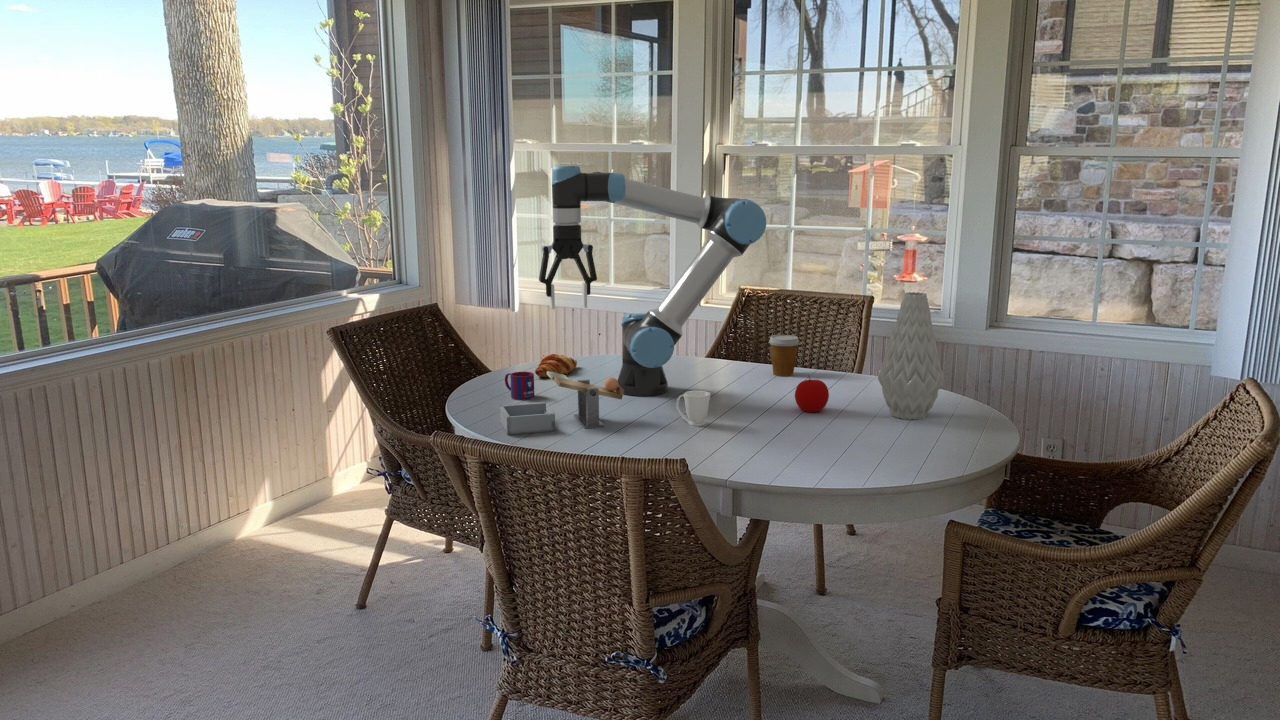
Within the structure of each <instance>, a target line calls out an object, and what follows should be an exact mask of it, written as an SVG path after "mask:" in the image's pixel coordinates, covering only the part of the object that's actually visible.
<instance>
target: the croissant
mask: <svg viewBox="0 0 1280 720" xmlns="http://www.w3.org/2000/svg"><path fill="white" fill-rule="evenodd" d="M577 366H578V361H577V359H574V358H572V357H568V356H566V355H564V354H563V355H562V354H557V353H552V354H549V355H545V356H544V357H543V358H541V361H540V362H539V364H538V366H537V367H536V368H535V371H534V374H535V375H537V376H538V377H539V378H550V377H549V376H548V375H547V371H549V372H554V373H559V374H563V375H564V374H566V375H569V374H570V373H571V372H572V371H574V369H576V368H577ZM568 373H569V374H568Z"/></svg>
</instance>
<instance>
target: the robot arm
mask: <svg viewBox="0 0 1280 720" xmlns="http://www.w3.org/2000/svg"><path fill="white" fill-rule="evenodd" d="M551 171H552V172H551V173H552V175H551V176H552V177H551V191H552V193H551V194H552V197H551V198H552V222H553V226H552V234H553V241H552V243H551V244H550V245H549V244H548V245H542V246H541V251H542V258H541V265H540V271H539V277H538V281H539V282H540V283H541V284H545V296H546V297H547V298H549V308H550V309H551V310H555V308H556V307H555V306H556V304H555V303H556V302H555V299H556V298H555V297H556V296H555V284H553V281H554V279H555V276H556V274H557V272H558V270H559V266H560V264H561V262H562V260H567V259H571V260H573V261H574V262H575V264H576V266H577V269H578V270H579V273H580V275H581V277H582V279H583V280H584V282H581V307H583V308H584V309H585V308H588V296H589V295H591V283H593V282H596V281H597V280H598V277H597V272H596V267H595V261H594V257H593V256H594V255H593V252H594V251H593V250H594V247H593V245H592V244H589V243H588V244H585V243H583V241H582V225H581V224H580V223H582V210H581V209H582V208H581V207H582V204H581V202H607V203H610V204H614V205H618V206H624V207H627V208H632V209H636V210H641V211H644V212H647V213H652V214H655V215H656V214H657V215H661V216H664V217H669V218H672V219H676V220H681V221H685V222H689V223H693V224H696V225H697V226H698V227H699V228H700V229H703V230H706V231H707V232H708V233H707V234H708V238H707V241H705V243H704V244H703V246H702V247H701V249H700V250H699V251H698V253H697V254H696V256H694V258H693V259H692V261H691V263H690V264H689V265H688V266H687V268H686V269H685V270H684V271H683V273H682V275H681V276H680V277H679V278H678V280H677V281H676V282H675V284H673V286H672V288H671V289H670V291H669V292H668V293H667V295H666V296H665V297H664V298H663V300H662V302H661V303H660V304H659V305H658V306H657V308H653V309H649V310H648V311H647V313H646V312H642V313H641V312H640V313H639V312H638V313H637V312H636V313H626V314H623V315H622V319H621V330H622V331H621V337H622V338H621V342H622V345H621V346H622V347H621V350H622V352H621V353H622V358H621V359H622V361H621V362H622V364H621V367H620V371H619V374H618V378H617V379H616V380H617V381H618V385H619V386H620V387H621V388H622V389H624V393H623V395H626V396H627V395H628V396H638V397H639V396H641V397H644V396H645V397H646V396H657V395H661V394H664V393H666V392H668V385H669V384H668V379H667V377H666V374H665V370H664V367H663V366H664V365H666V364H667V363H668V362H669V361H670V359H672V356H673V354H674V350H675V345H676V344H677V343H678V342H679V340H680V339H681V337H683V330H682V329H683V326H684V325H685V323H686V322H687V321H688V319H689V317H691V316H692V315H693V313H694V311H695V310H696V308H698V306H699V304H701V302H702V301H703V299H704V298H705V297H706V296H707V294H708V292H709V291H710V290H711V288H712V287H713V286H714V285H715V283H716V281H717V280H718V279H719V278H720V276H721V275H722V274H723V272H724V271H725V270H726V268H727V267H728V266H729V265H730V263H731V262H732V260H733V259H734V258H737V257H742V256H743V255H744V253H745V252H746V251H747V250H748V248H749V247H750V246H751V245H752V244H754V243H756V242H757V241H758V240H760V238H761V239H762V236H763V235H764V233H765V231H766V229H767V217H766V213H765V211H764V210H763V208H762V207H761V206H760V205H759V204H758V203H756V202H755V201H752V200H750V199H746V198H737V197H736V198H735V197H719V196H714V195H709V194H708V195H706V196H704V197H702V196H698V195H694V194H690V193H686V192H681V191H678V190H673V189H669V188H665V187H661V186H658V185H652V184H649V183H644V182H640V181H638V180H637V181H636V180H632V179H628V178H625V177H626V176H625V175H624V174H623V173H621V172H614V171H613V172H601V171H594V172H587V173H586V172H582V171H581V167H580V166H579V165H556V166H554V167H553V168H552V170H551ZM552 250H553V252H554V253H555V257H554V260H553V263H552V265H551V267H550V269H549V272H548V271H547V270H548V264H549V259H550V254H551V253H552ZM582 250H583V251H584V253H585V256H586V260H587V266H588V272H589V274H588V272H587V270H586V268H585V265H584V263H583V261H582V259H581V256H580V252H581V251H582ZM547 272H548V275H547Z"/></svg>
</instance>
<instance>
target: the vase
mask: <svg viewBox="0 0 1280 720" xmlns="http://www.w3.org/2000/svg"><path fill="white" fill-rule="evenodd" d="M928 300H929V298H928V295H927V293H925V292H915V291H913V292H911V291H909V292H905V293H903V298H902V300H901V302H900V308H899V310H898V313H897V318H896V322H895V325H894V327H893V330H892V333H891V335H890V338H889V341H888V345H887V347H886V350H885V355H884V358H883V362H882V364H881V367H880V368H879V371H878V375H877V380H878V382H879V384H880V385H881V391H882V396H883V398H884V401H885V403H886V405H887V408H888V410H889V413H890V415H891V416H892V417H894V418H896V417H897V418H896V419H900V418H901V419H900V420H905V419H919V420H923V419H922V418H924V417H925V418H927V416H928V414H929V412H930V410H931V408H933V406H934V404H935V402H936V399H937V398H938V394H939V390H940V389H941V388H942V387H943V385H944V379H945V378H944V372H943V370H942V368H941V362H940V356H939V351H938V347H937V343H936V336H935V332H934V327H933V322H932V315H931V310H930V306H929V301H928ZM925 418H924V419H925Z"/></svg>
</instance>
